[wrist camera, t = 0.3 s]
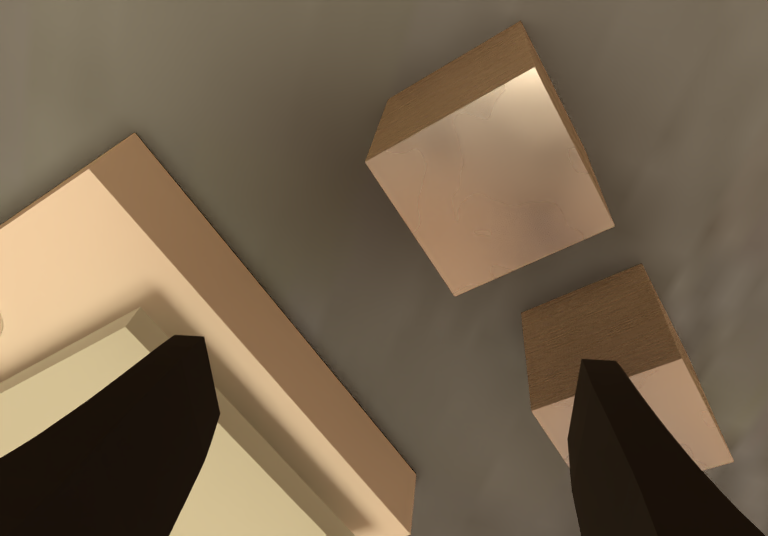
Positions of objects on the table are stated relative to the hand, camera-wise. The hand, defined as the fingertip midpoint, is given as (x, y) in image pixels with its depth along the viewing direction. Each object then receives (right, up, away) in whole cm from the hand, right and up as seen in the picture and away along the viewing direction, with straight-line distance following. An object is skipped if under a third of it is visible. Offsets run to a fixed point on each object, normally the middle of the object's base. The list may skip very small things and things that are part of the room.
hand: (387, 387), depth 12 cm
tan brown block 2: (+8, 0, +11) cm, 13 cm away
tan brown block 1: (+3, +7, +7) cm, 10 cm away
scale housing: (-10, -3, +15) cm, 19 cm away
